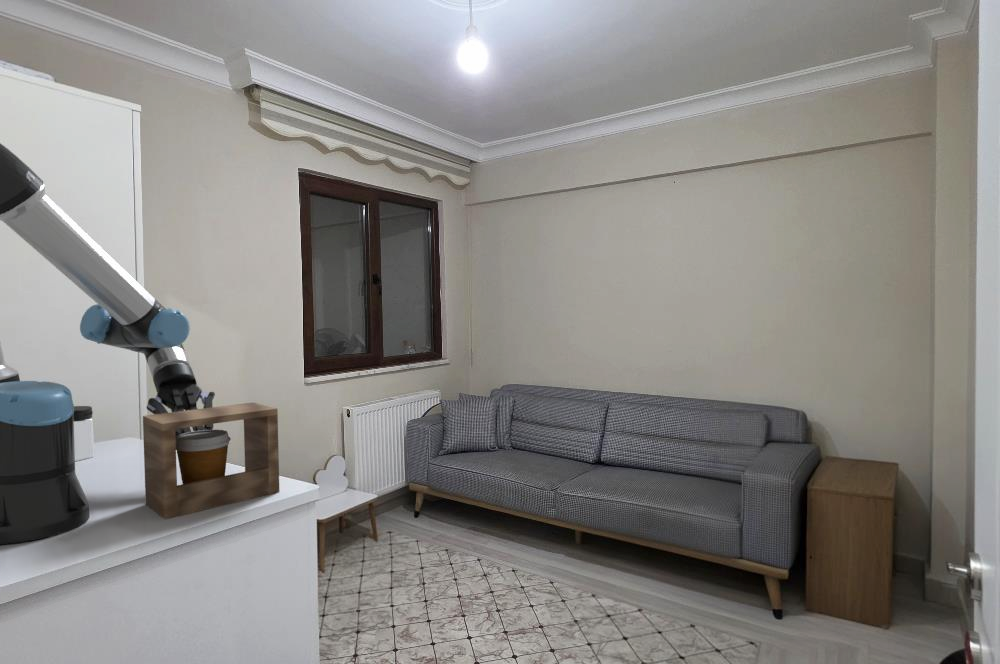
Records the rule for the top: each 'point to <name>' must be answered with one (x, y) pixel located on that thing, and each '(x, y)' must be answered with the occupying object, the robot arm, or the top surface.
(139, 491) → the top surface
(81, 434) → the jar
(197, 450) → the disposable coffee cup
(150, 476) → the walnut shelf
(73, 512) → the robot arm
